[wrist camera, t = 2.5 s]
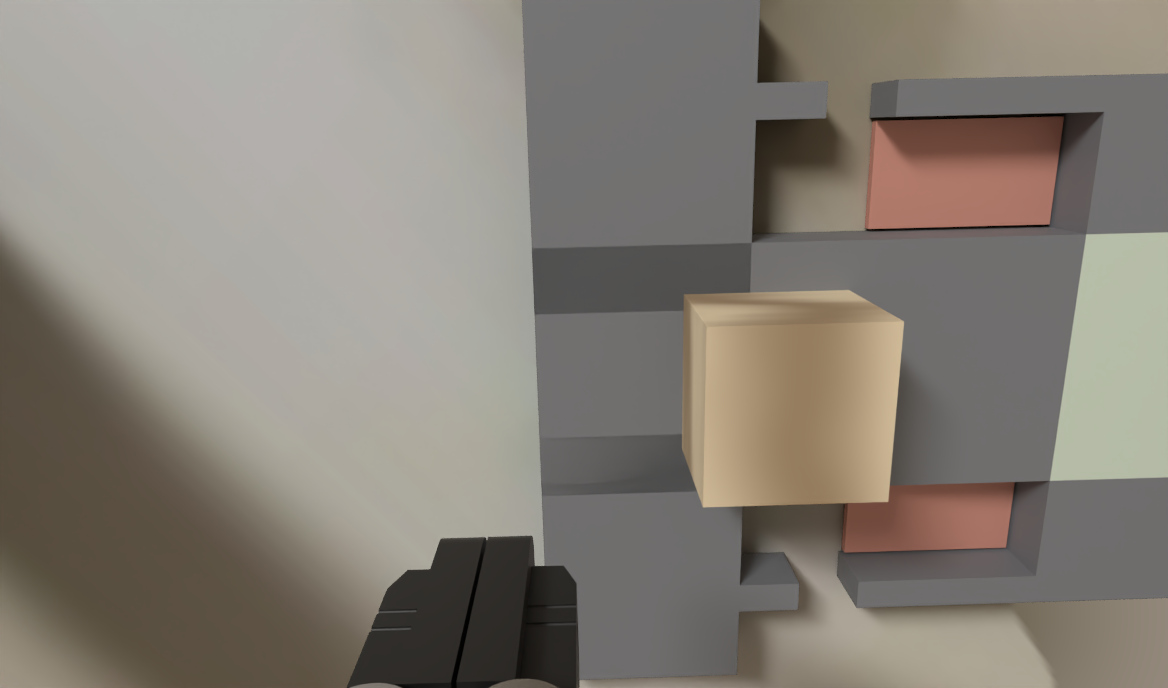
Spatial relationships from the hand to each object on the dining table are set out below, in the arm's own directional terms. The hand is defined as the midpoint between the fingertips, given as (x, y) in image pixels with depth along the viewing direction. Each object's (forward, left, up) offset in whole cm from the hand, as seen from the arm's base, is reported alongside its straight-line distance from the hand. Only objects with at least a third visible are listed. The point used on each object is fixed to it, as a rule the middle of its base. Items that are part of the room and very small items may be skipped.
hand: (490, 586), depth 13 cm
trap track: (+12, 0, -14) cm, 18 cm away
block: (+7, 0, -12) cm, 14 cm away
